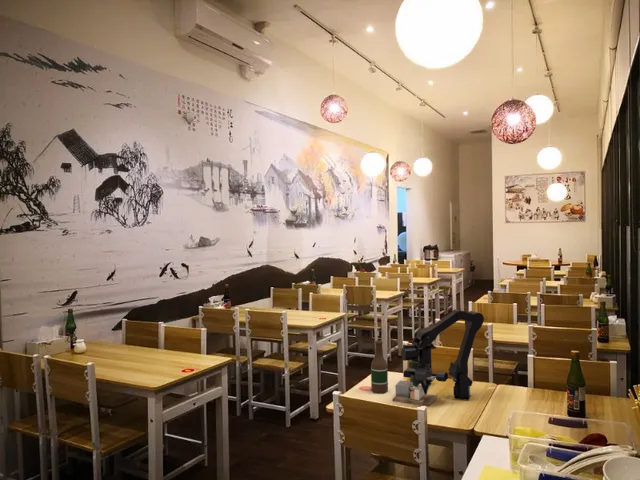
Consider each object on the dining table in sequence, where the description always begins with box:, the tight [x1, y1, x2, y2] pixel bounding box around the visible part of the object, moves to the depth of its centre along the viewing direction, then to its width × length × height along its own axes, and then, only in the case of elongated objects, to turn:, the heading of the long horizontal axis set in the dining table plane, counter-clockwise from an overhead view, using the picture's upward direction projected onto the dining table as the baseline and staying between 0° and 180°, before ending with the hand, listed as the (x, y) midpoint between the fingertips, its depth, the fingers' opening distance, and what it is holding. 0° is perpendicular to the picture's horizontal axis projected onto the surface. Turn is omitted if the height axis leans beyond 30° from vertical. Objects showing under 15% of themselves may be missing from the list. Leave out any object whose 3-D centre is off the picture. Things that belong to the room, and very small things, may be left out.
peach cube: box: [410, 391, 415, 399], centre depth 222 cm, size 2×2×3 cm
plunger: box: [410, 383, 425, 400], centre depth 225 cm, size 9×10×4 cm
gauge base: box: [392, 393, 438, 407], centre depth 225 cm, size 17×12×1 cm
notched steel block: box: [395, 380, 414, 398], centre depth 228 cm, size 6×7×5 cm
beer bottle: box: [370, 339, 389, 395], centre depth 236 cm, size 8×8×24 cm
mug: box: [408, 357, 420, 387], centre depth 248 cm, size 11×15×12 cm
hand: (425, 394), depth 222 cm, fingers closed
